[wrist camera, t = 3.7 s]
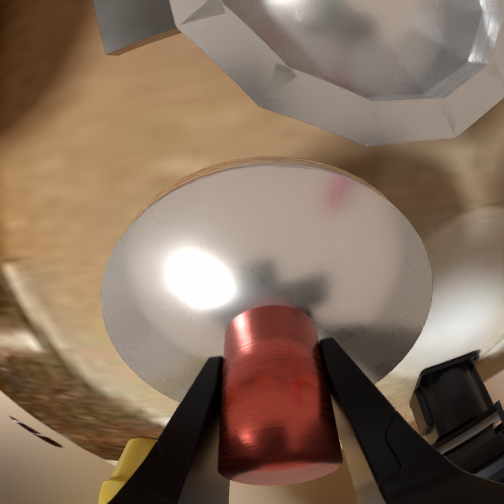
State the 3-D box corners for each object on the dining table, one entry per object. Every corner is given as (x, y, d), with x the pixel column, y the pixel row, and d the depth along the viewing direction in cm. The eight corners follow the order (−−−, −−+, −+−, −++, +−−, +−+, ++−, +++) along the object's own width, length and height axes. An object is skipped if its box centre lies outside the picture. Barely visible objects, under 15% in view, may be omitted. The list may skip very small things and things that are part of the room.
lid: (414, 125, 8) (578, 222, 3) (397, 362, 14) (435, 472, 9) (69, 199, 9) (-49, 333, 4) (180, 396, 15) (166, 507, 10)
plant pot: (99, 423, 28) (80, 498, 20) (187, 433, 28) (179, 518, 20) (129, 457, 34) (119, 518, 25) (203, 464, 34) (199, 530, 25)
